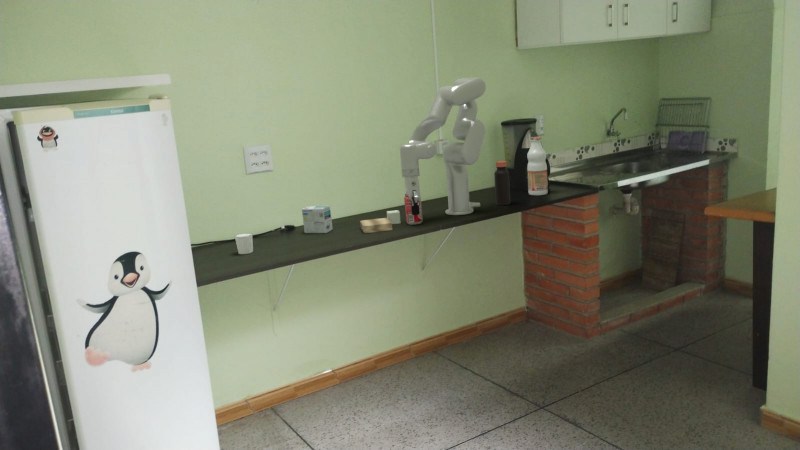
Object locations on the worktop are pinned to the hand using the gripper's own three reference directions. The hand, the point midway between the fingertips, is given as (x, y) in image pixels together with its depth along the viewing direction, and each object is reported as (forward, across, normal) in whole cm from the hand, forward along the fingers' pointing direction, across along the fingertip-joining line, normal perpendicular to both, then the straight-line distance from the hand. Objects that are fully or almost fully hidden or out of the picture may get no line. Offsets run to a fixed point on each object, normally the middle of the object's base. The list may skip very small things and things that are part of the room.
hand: (413, 212), depth 294 cm
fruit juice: (+5, +33, -69) cm, 77 cm away
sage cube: (+5, +6, +8) cm, 11 cm away
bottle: (+5, +18, -46) cm, 50 cm away
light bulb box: (+5, +6, +41) cm, 42 cm away
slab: (+5, -2, +17) cm, 18 cm away
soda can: (+5, 0, 0) cm, 5 cm away
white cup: (+5, -16, +71) cm, 73 cm away
